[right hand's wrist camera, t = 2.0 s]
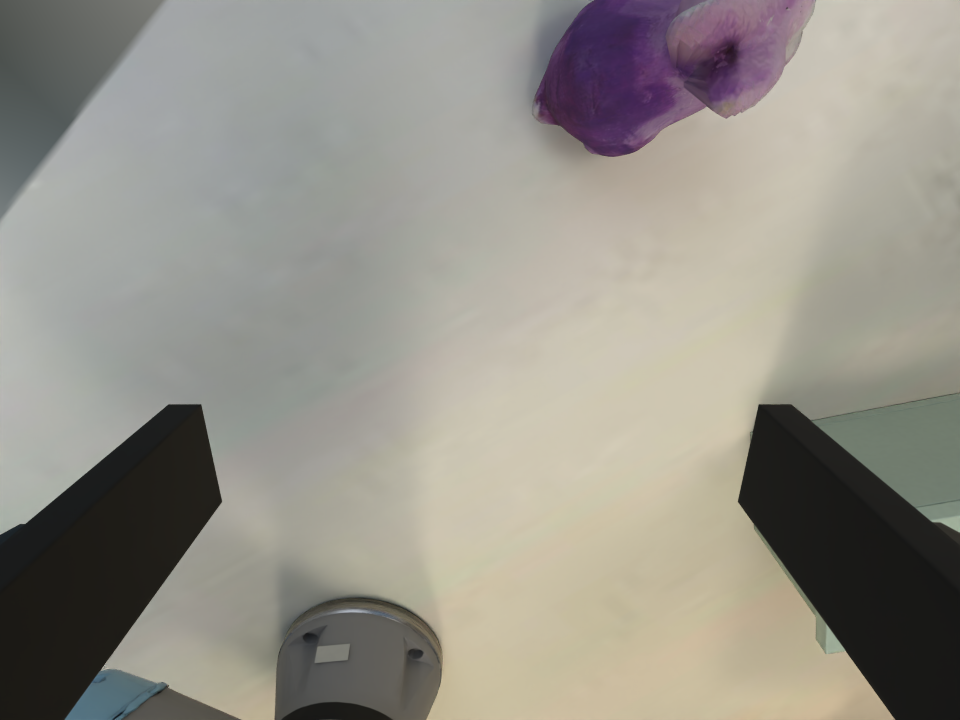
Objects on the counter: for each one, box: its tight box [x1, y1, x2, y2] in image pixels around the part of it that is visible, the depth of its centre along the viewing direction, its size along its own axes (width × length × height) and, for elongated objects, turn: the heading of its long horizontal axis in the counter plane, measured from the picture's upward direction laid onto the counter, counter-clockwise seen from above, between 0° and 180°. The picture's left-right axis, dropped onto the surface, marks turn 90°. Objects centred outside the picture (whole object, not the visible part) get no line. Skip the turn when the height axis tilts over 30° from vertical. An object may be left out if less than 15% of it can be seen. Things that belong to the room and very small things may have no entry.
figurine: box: [532, 0, 816, 157], centre depth 26 cm, size 9×10×15 cm
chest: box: [750, 393, 960, 616], centre depth 39 cm, size 16×10×11 cm, turn 103°
